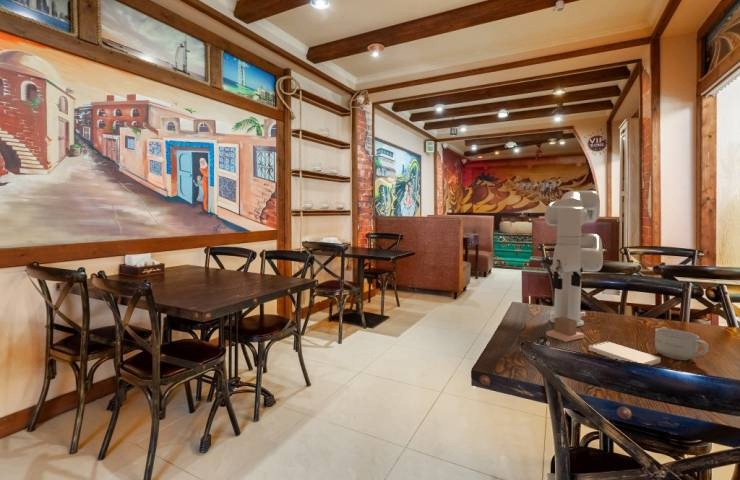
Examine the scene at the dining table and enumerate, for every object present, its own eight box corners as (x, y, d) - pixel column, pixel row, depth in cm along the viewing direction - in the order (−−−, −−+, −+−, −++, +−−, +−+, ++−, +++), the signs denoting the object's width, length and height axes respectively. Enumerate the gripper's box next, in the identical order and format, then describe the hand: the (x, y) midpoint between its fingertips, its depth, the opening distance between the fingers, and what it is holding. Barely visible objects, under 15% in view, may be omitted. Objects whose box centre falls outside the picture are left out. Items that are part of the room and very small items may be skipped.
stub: (564, 331, 140) (564, 315, 140) (584, 337, 133) (584, 320, 133) (546, 335, 136) (546, 318, 136) (565, 341, 129) (566, 324, 128)
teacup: (645, 351, 121) (646, 327, 120) (675, 349, 122) (676, 326, 121) (685, 368, 107) (686, 342, 106) (718, 367, 108) (720, 341, 107)
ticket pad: (607, 345, 126) (607, 340, 126) (660, 362, 111) (660, 357, 111) (588, 350, 121) (588, 345, 121) (641, 368, 107) (641, 363, 107)
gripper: (574, 239, 139) (572, 283, 141) (543, 241, 132) (541, 287, 133) (593, 240, 133) (591, 286, 134) (561, 243, 125) (560, 292, 127)
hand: (566, 287), depth 134 cm, fingers open, 9 cm apart
